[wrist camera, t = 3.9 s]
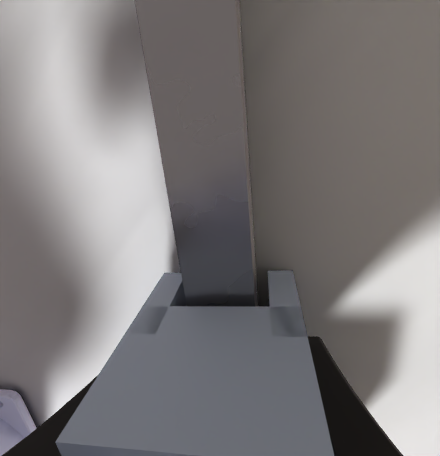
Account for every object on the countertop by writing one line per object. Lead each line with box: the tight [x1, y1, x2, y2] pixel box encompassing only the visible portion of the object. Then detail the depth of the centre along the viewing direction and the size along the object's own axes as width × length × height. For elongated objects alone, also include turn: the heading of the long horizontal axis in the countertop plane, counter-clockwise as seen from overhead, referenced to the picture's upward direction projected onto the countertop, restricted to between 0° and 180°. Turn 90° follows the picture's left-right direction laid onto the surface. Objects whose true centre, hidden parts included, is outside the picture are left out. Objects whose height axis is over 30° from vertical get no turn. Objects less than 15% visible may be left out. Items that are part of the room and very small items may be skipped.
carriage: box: [55, 270, 334, 456], centre depth 8 cm, size 4×5×6 cm
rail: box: [135, 0, 258, 307], centre depth 8 cm, size 2×17×2 cm, turn 6°
